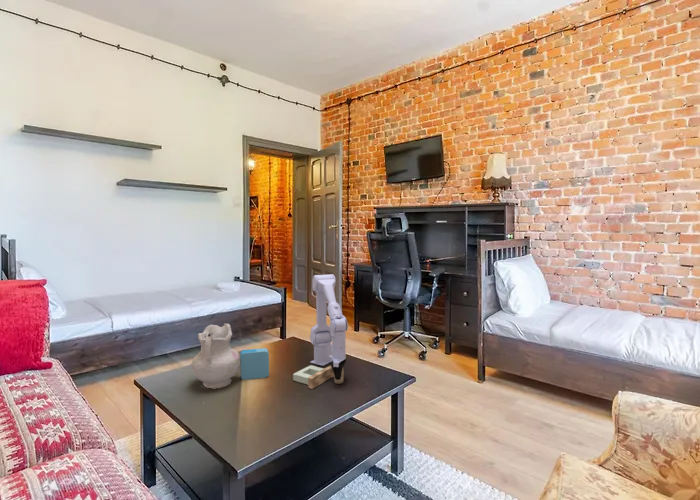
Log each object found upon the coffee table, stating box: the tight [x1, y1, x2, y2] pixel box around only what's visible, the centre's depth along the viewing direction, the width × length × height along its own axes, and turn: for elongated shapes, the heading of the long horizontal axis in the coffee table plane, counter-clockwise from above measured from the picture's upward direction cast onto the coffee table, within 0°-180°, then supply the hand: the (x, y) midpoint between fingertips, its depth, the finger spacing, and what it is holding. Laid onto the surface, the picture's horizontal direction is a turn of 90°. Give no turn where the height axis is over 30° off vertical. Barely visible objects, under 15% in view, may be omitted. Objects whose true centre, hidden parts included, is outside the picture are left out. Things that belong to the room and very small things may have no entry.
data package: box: [239, 347, 270, 381], centre depth 168 cm, size 12×4×12 cm, turn 106°
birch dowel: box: [333, 366, 345, 385], centre depth 163 cm, size 4×4×7 cm
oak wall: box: [307, 364, 334, 390], centre depth 164 cm, size 18×2×4 cm, turn 147°
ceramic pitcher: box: [190, 322, 241, 390], centre depth 160 cm, size 22×20×25 cm
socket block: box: [292, 364, 325, 385], centre depth 167 cm, size 12×10×3 cm
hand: (338, 377), depth 163 cm, fingers open, 4 cm apart
